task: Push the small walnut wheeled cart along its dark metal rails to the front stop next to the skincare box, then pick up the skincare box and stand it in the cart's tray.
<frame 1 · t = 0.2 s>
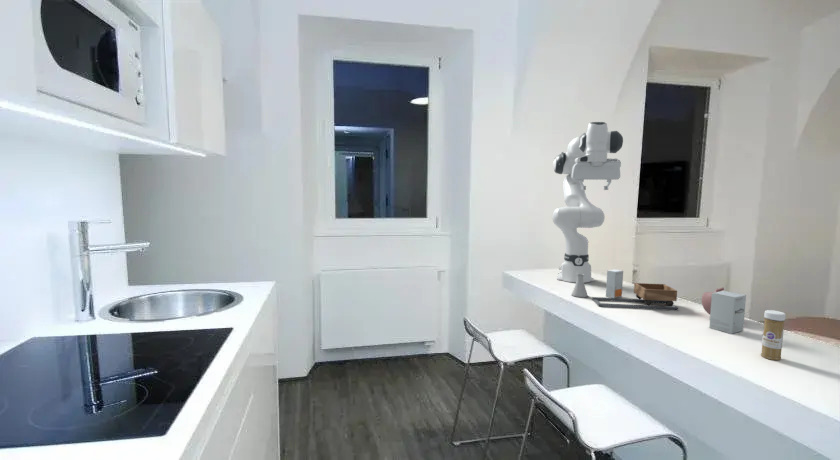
hand: (594, 189, 188), 48 cm above the counter, tool pointing down, fingers open, 8 cm apart
skincare box: (613, 297, 189), on the counter
mortar and pestle: (719, 318, 158), on the counter
sprinkles bottle: (770, 358, 120), on the counter
flask: (579, 296, 190), on the counter
rail track: (633, 304, 176), on the counter
cart: (654, 294, 174), point 5 cm above the counter, slide at 8.0 cm
supplement box: (726, 330, 145), on the counter
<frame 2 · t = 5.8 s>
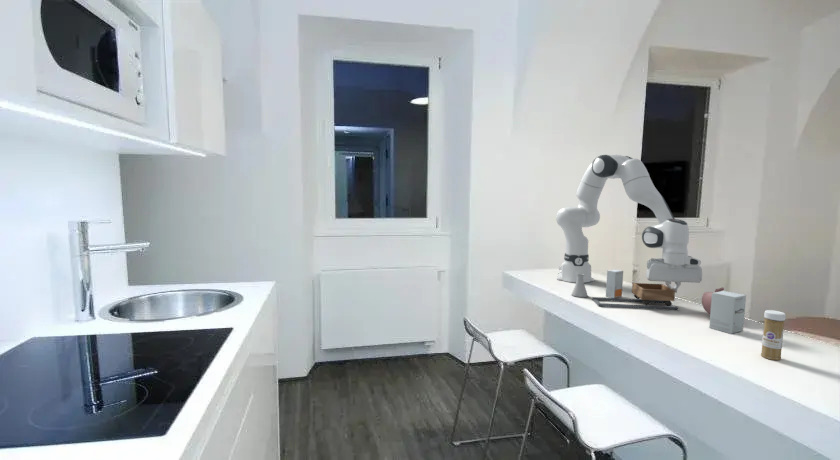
hand: (672, 292, 173), 6 cm above the counter, tool pointing down, fingers closed
cart: (652, 294, 174), point 5 cm above the counter, slide at 7.2 cm, touching gripper
everything else where it was.
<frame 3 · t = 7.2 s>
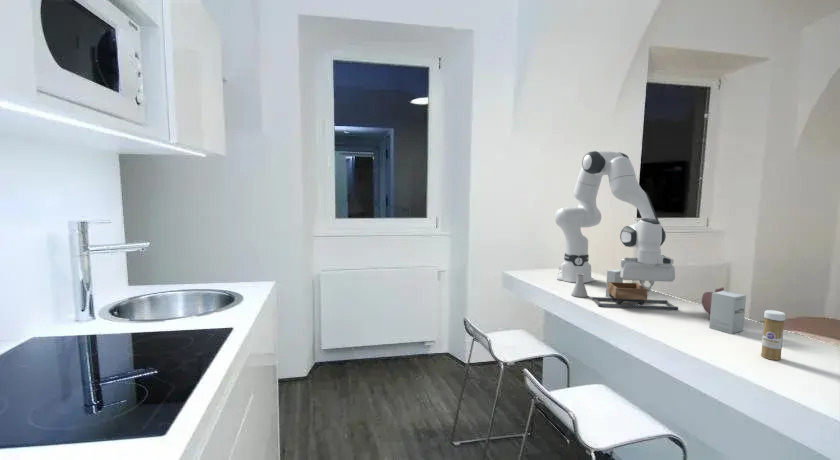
hand: (646, 291, 175), 6 cm above the counter, tool pointing down, fingers closed
cart: (626, 293, 176), point 5 cm above the counter, slide at -2.8 cm, touching gripper
everything else where it was.
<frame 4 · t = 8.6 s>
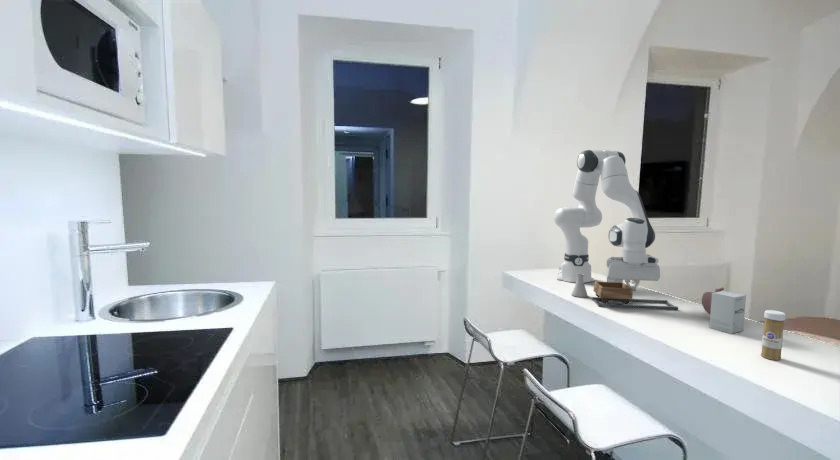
hand: (631, 290, 175), 6 cm above the counter, tool pointing down, fingers closed
cart: (612, 292, 176), point 5 cm above the counter, slide at -8.5 cm, touching gripper
everything else where it was.
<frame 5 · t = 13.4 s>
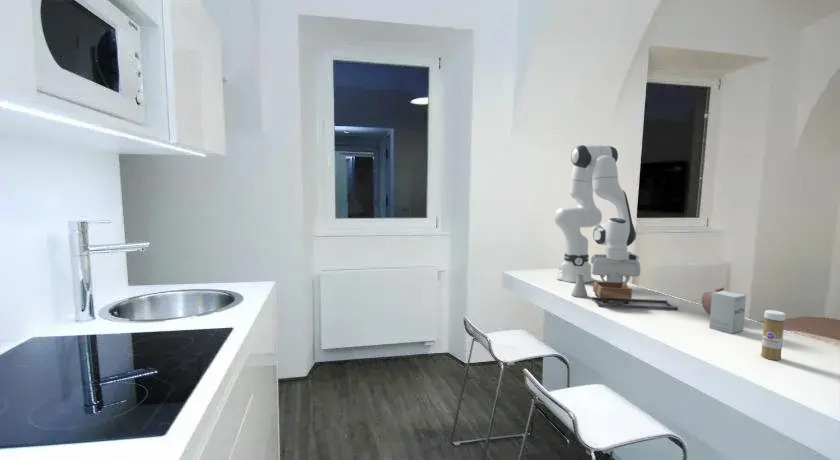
hand: (614, 285, 188), 5 cm above the counter, tool pointing down, fingers closed on skincare box, 7 cm apart
skincare box: (613, 297, 189), on the counter, touching gripper
cart: (611, 292, 177), point 5 cm above the counter, slide at -8.7 cm
everything else where it was.
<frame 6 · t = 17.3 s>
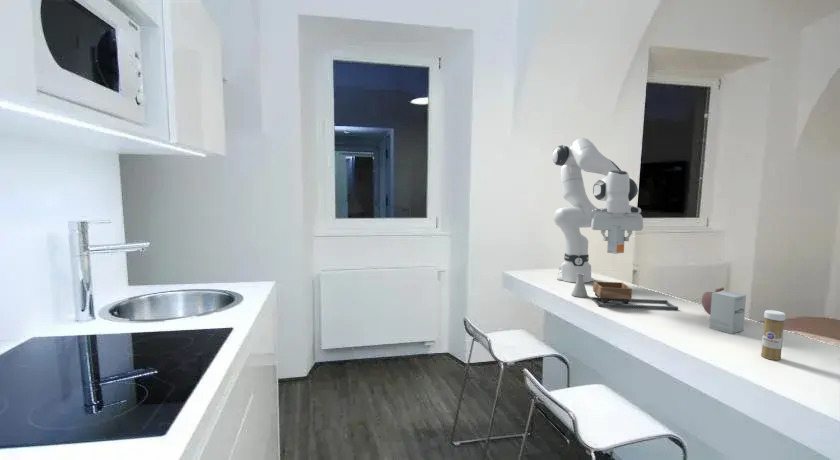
hand: (616, 241, 180), 26 cm above the counter, tool pointing down, fingers closed on skincare box, 7 cm apart
skincare box: (615, 253, 180), point 21 cm above the counter, touching gripper
everything else where it was.
when the fingers open (12 cm above the counter, at t = 21.1 s): skincare box drops 1 cm, resting on cart.
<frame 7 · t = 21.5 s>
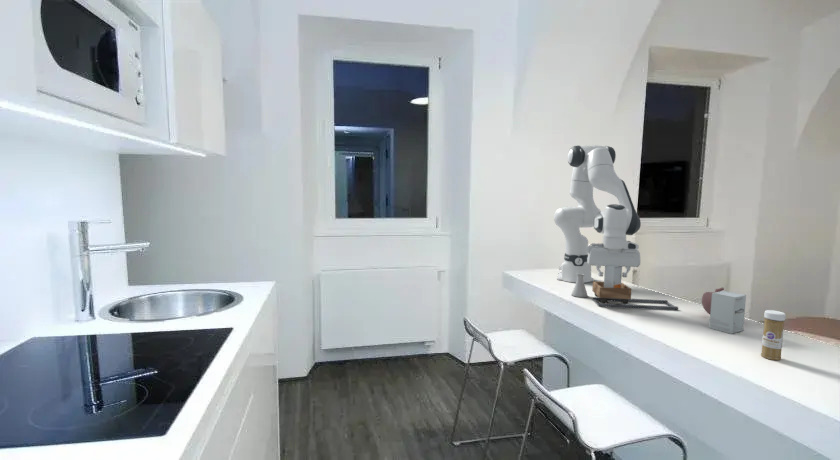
hand: (612, 276, 176), 12 cm above the counter, tool pointing down, fingers open, 8 cm apart
skincare box: (612, 293, 177), point 5 cm above the counter, touching cart
cart: (611, 292, 177), point 5 cm above the counter, slide at -9.0 cm, touching skincare box
everything else where it was.
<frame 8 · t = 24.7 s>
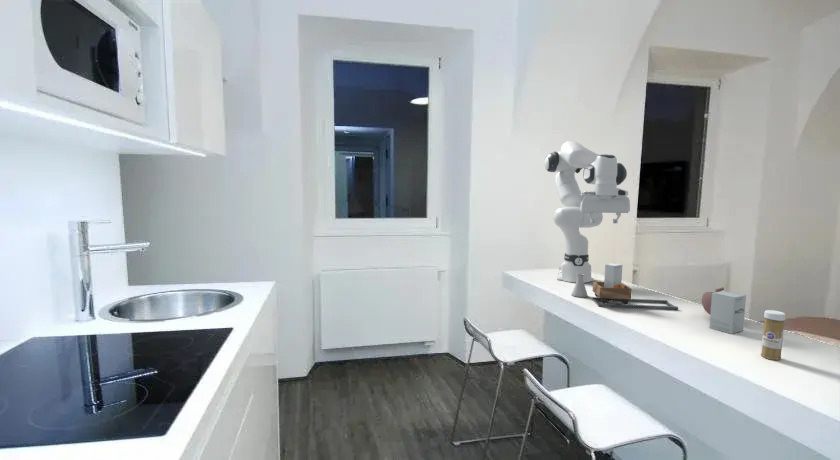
hand: (603, 223, 186), 33 cm above the counter, tool pointing down, fingers open, 8 cm apart
nothing on the counter moved.
at the end: cart slide at -8.9 cm; skincare box inside the target area on the cart (0.5 cm from its centre), point 4.6 cm above the cart's base; skincare box tilted 0° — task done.
